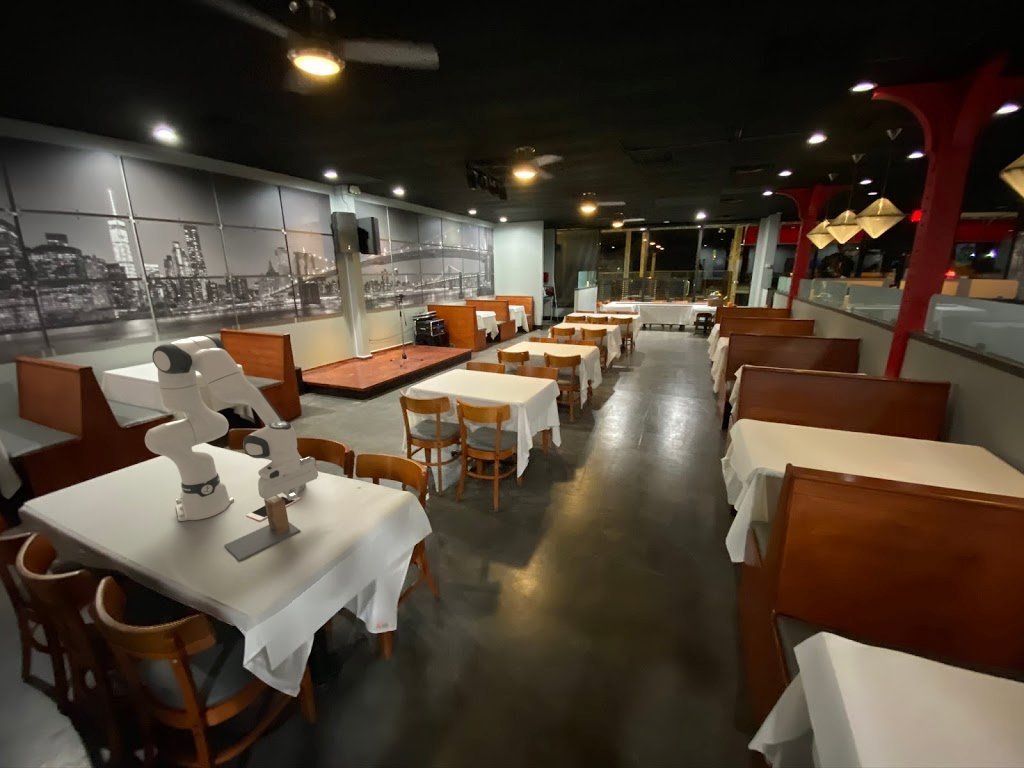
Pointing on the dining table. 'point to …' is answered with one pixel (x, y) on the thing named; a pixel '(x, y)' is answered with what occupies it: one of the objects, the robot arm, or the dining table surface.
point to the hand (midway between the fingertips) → (292, 498)
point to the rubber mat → (257, 541)
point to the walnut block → (277, 514)
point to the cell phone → (262, 513)
